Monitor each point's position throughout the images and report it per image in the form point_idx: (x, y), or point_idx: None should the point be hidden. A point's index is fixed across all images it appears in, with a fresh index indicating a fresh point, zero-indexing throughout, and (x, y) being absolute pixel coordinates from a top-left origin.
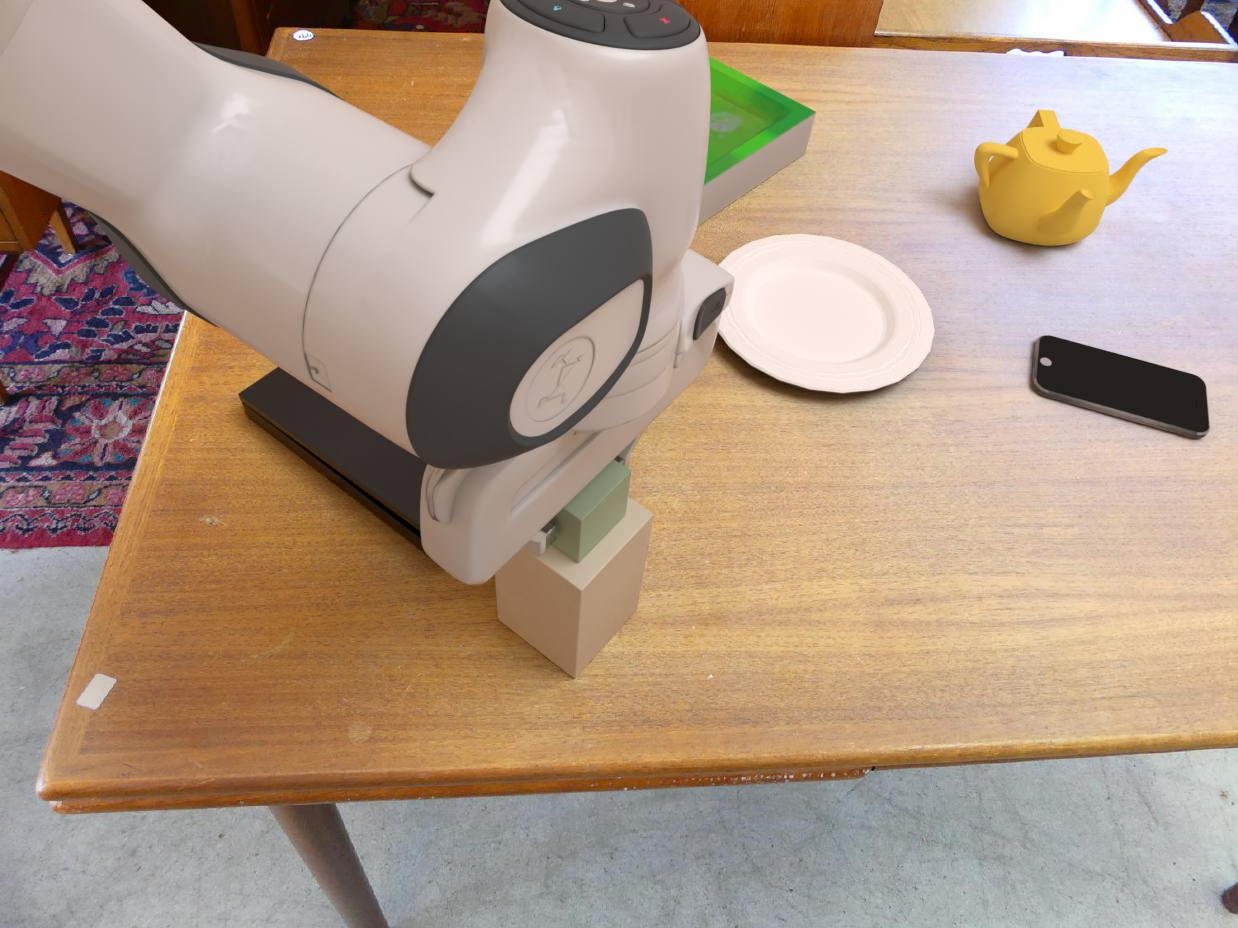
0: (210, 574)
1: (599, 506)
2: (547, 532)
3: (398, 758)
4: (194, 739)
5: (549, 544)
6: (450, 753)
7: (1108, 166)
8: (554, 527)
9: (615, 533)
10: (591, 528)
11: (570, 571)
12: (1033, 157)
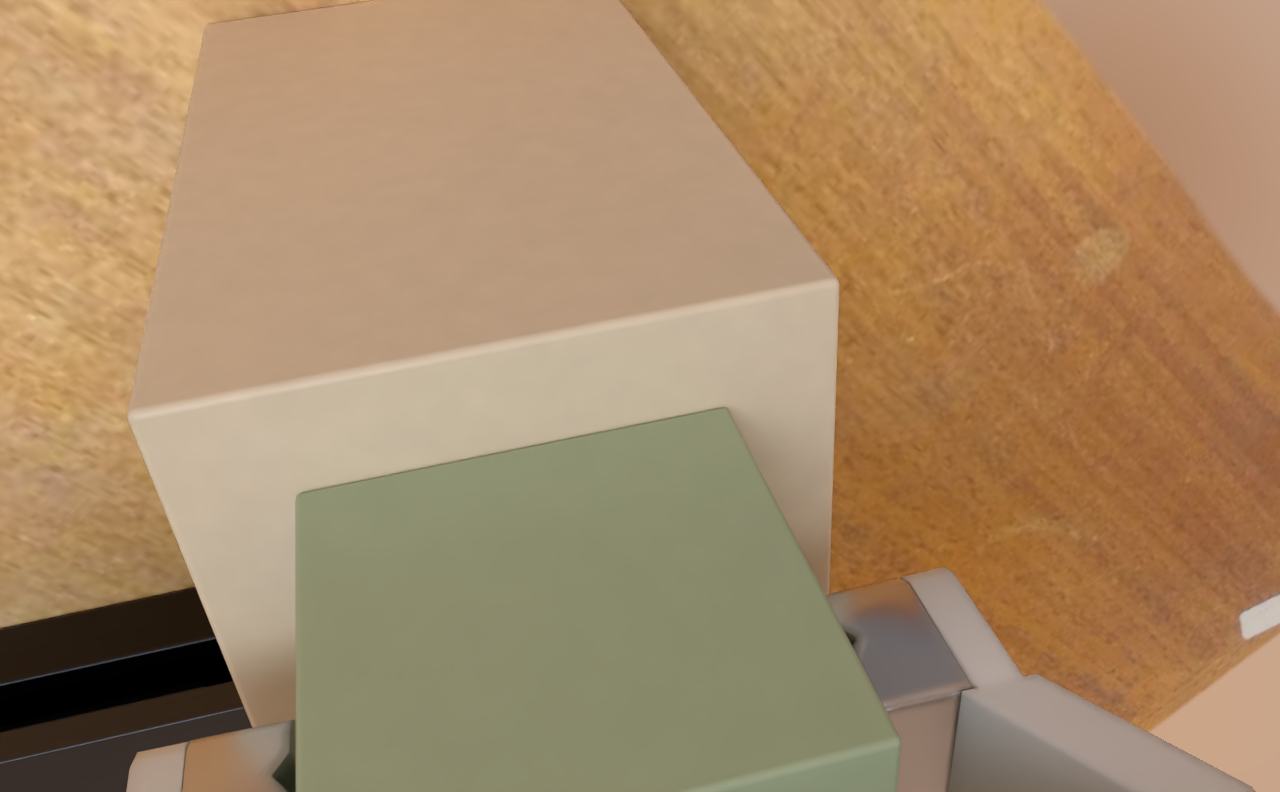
0: None
1: (683, 750)
2: (949, 701)
3: (1106, 134)
4: (1275, 445)
5: (886, 602)
6: (1024, 49)
7: None
8: (893, 705)
9: (431, 436)
10: (703, 593)
11: (787, 394)
12: None
